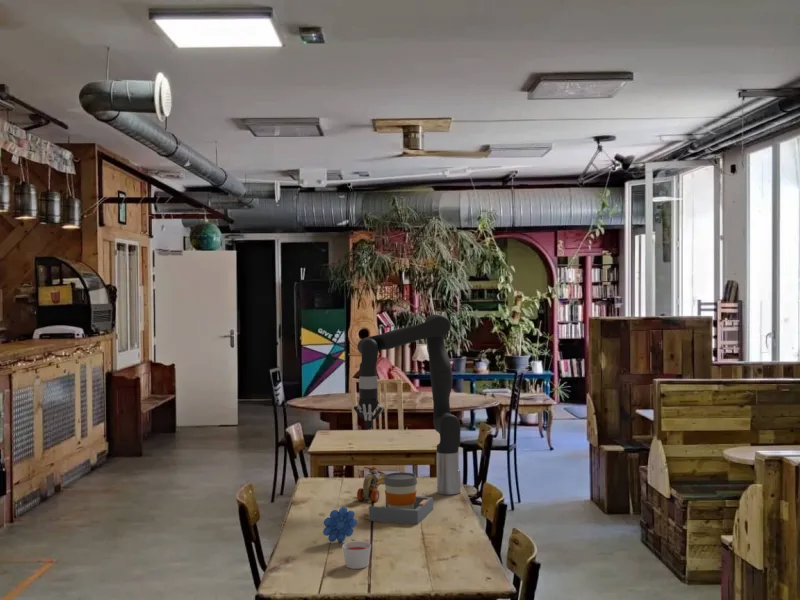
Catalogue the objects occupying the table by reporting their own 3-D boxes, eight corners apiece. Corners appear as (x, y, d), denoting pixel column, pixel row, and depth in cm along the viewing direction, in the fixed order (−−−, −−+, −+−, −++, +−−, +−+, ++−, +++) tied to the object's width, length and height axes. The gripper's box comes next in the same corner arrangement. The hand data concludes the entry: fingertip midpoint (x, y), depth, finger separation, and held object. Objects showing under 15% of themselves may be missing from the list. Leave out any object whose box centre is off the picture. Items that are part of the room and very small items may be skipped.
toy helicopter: (355, 502, 334) (355, 468, 334) (375, 490, 353) (375, 458, 353) (374, 503, 331) (373, 469, 331) (393, 491, 350) (393, 459, 350)
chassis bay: (369, 520, 307) (368, 505, 307) (387, 506, 326) (386, 492, 326) (417, 524, 301) (417, 508, 301) (433, 510, 320) (432, 495, 319)
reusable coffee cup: (417, 510, 319) (417, 472, 319) (417, 519, 307) (416, 479, 307) (385, 510, 320) (384, 472, 320) (383, 519, 307) (383, 479, 307)
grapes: (356, 537, 286) (355, 503, 286) (357, 543, 279) (357, 508, 279) (322, 539, 284) (322, 504, 284) (323, 545, 278) (322, 509, 277)
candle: (356, 559, 263) (355, 539, 263) (377, 564, 257) (377, 544, 257) (336, 566, 256) (336, 546, 256) (357, 572, 250) (357, 551, 250)
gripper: (349, 387, 335) (350, 430, 335) (380, 388, 330) (381, 431, 330) (356, 385, 342) (357, 427, 342) (386, 386, 337) (387, 428, 338)
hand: (369, 429), depth 336 cm, fingers closed
